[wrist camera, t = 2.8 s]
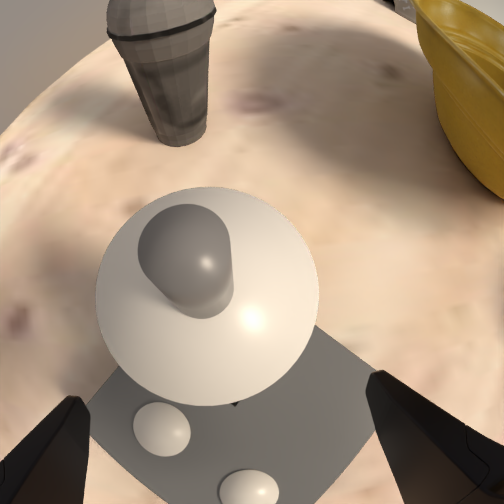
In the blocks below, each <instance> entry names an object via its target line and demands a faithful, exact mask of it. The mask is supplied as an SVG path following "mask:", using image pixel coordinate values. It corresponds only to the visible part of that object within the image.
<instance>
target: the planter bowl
mask: <svg viewBox="0 0 504 504" xmlns="http://www.w3.org/2000/svg"><path fill="white" fill-rule="evenodd" d="M409 1H410V3H411V4H412V6H413V7H414V8H415V10H416V25H417V33H418V39H419V43H420V46H421V49H422V51H423V53H424V55H425V57H426V59H427V60H428V62H429V64H430V65H431V67H432V68H433V83H434V95H435V103H436V109H437V114H438V117H439V121H440V123H441V126H442V128H443V130H444V132H445V134H446V136H447V138H448V140H449V142H450V144H451V145H452V147H453V149H454V151H455V152H456V154H457V155H458V157H459V158H460V160H461V161H462V162H463V163H464V165H465V166H466V167H467V168H468V170H469V171H470V172H471V173H472V174H473V175H474V176H475V177H476V178H477V179H478V180H479V181H480V182H481V183H482V184H483V185H484V186H485V187H487V188H488V189H489V190H490V191H492V192H493V193H495V194H496V195H497V196H499V197H500V198H502V199H504V26H503V25H502V24H500V23H499V22H497V21H495V20H494V19H492V18H491V17H489V16H488V15H486V14H484V13H483V12H481V11H479V10H477V9H476V8H474V7H472V6H470V5H468V4H466V3H463V2H462V1H459V0H409Z"/></svg>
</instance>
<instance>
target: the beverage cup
mask: <svg viewBox="0 0 504 504" xmlns="http://www.w3.org/2000/svg"><path fill="white" fill-rule="evenodd" d="M216 11H217V10H216V7H215V5H214V2H213V0H110V1H109V4H108V8H107V25H108V27H107V34H108V36H109V38H111V39H112V41H113V43H114V45H115V47H116V49H117V50H118V52H119V54H120V56H121V57H122V58H123V59H124V62H125V64H126V67H127V69H128V71H129V74H130V76H131V79H132V81H133V83H134V86H135V88H136V90H137V93H138V95H139V97H140V100H141V102H142V104H143V107H144V109H145V111H146V114H147V116H148V118H149V121H150V123H151V125H152V127H153V129H154V130H155V132H156V134H157V137H158V138H159V140H160V141H161V142H162V143H163V144H165V145H168V146H173V147H180V146H186V145H189V144H191V143H194V142H195V141H197V140H198V139H199V138H201V137H202V135H203V134H204V133H205V130H206V119H207V107H208V66H209V40H210V36H211V34H212V29H213V24H214V15H215V13H216Z"/></svg>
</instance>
